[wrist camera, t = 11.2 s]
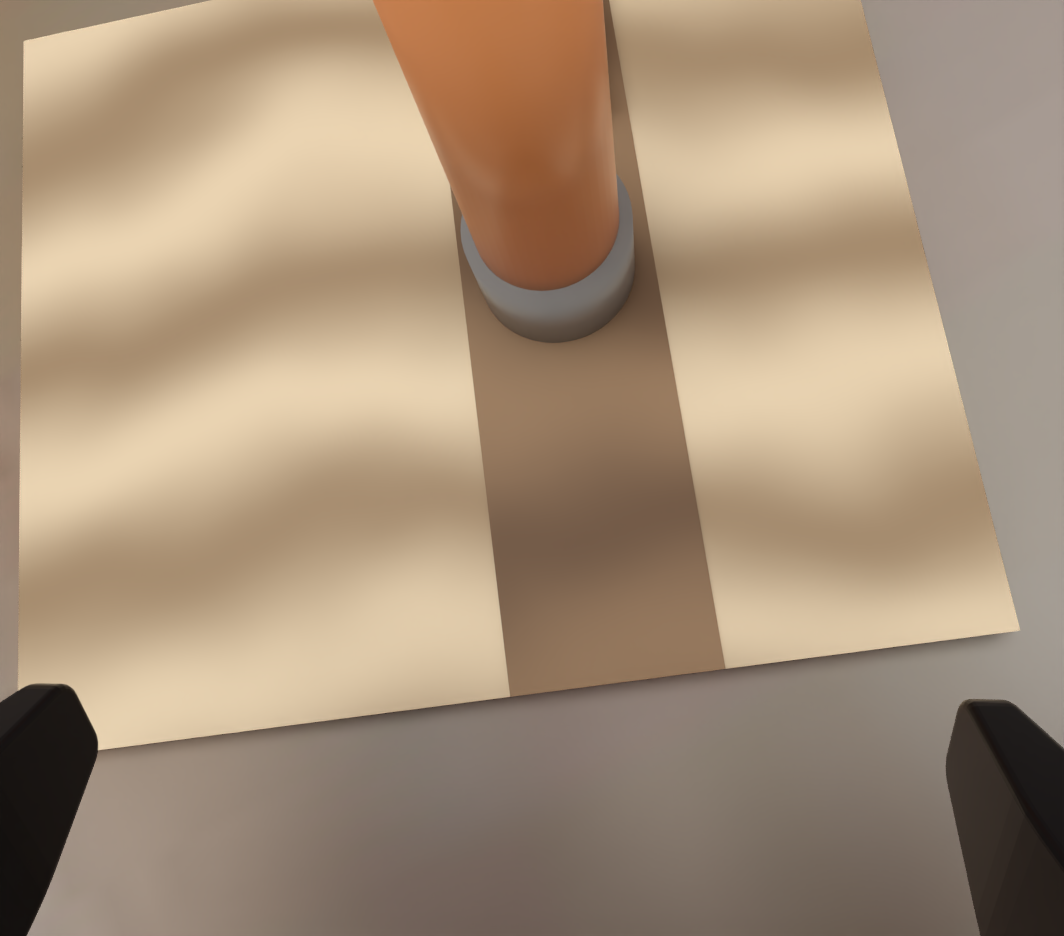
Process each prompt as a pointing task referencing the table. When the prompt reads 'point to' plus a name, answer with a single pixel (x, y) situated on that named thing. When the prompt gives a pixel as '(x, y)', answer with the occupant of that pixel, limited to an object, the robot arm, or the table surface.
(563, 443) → the subfloor board
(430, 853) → the table surface
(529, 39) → the awl
